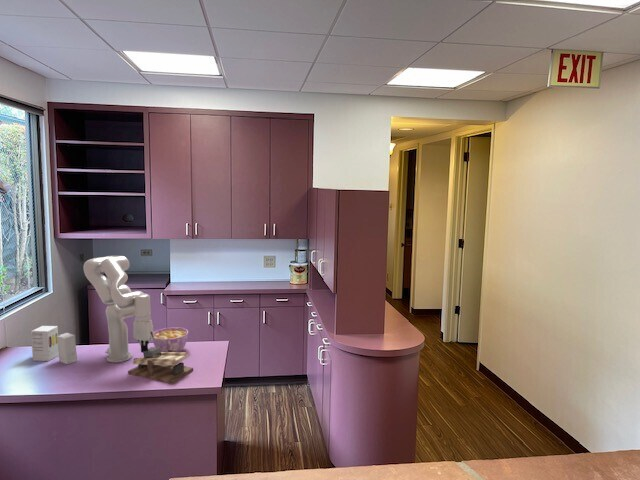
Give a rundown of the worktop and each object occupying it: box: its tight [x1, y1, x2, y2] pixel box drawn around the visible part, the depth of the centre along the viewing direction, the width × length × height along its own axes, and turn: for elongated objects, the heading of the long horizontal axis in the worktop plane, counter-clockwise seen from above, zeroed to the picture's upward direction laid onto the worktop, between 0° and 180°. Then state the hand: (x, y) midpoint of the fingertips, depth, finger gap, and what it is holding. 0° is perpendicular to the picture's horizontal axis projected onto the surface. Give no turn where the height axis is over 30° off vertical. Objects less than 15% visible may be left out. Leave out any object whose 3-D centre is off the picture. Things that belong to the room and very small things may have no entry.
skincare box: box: [57, 332, 78, 365], centre depth 231 cm, size 8×6×15 cm
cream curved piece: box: [132, 351, 189, 365], centre depth 221 cm, size 26×14×3 cm, turn 69°
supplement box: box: [30, 325, 59, 362], centre depth 236 cm, size 10×9×17 cm
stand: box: [127, 349, 194, 384], centre depth 221 cm, size 28×16×9 cm, turn 69°
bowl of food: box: [153, 326, 189, 352], centre depth 247 cm, size 20×20×12 cm
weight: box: [142, 346, 162, 358], centre depth 222 cm, size 6×6×4 cm
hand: (144, 351), depth 224 cm, fingers closed
